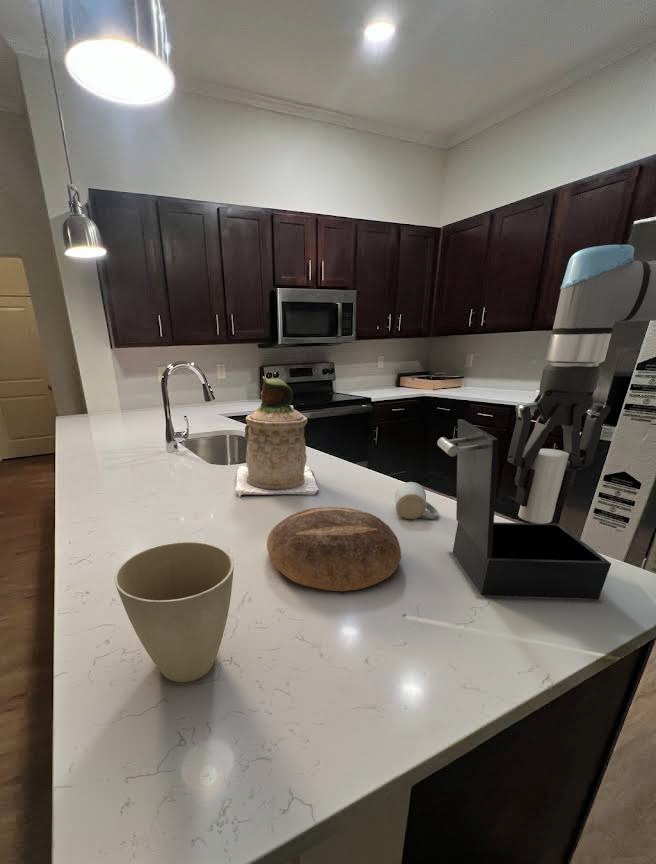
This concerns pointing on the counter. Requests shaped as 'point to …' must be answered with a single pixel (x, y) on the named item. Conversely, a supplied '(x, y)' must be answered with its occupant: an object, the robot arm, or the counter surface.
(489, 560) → the bin
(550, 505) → the canister
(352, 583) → the bread
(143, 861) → the counter surface
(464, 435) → the bin lid
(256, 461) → the cookie jar
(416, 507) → the ceramic mug
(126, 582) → the plant pot
